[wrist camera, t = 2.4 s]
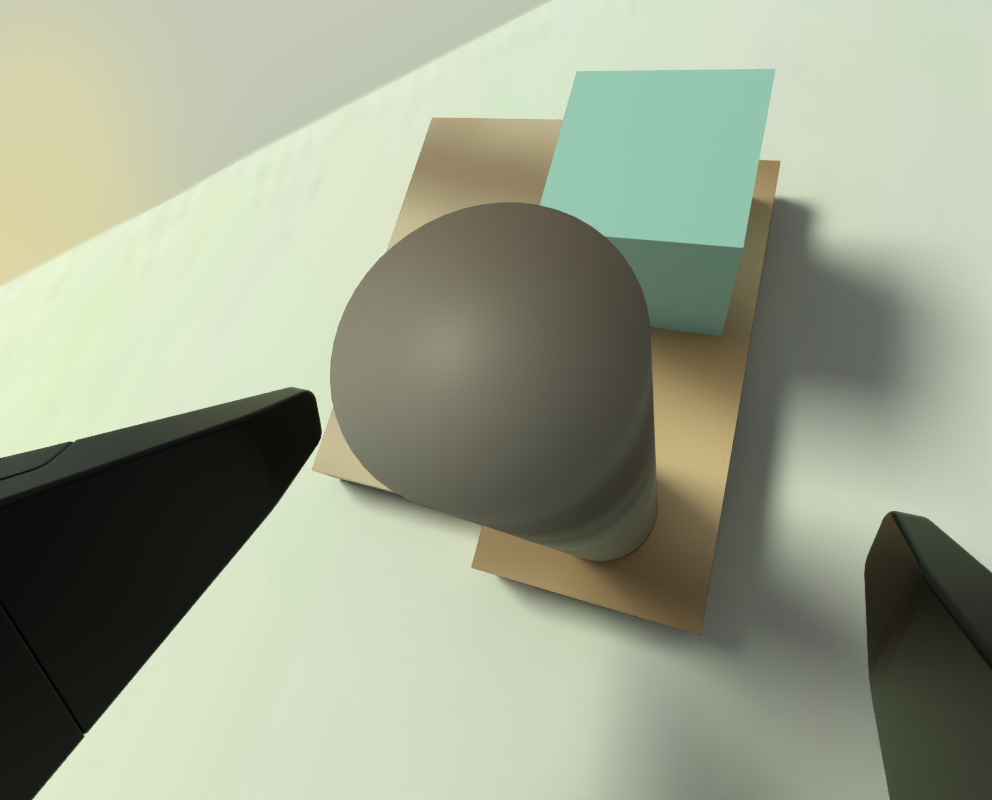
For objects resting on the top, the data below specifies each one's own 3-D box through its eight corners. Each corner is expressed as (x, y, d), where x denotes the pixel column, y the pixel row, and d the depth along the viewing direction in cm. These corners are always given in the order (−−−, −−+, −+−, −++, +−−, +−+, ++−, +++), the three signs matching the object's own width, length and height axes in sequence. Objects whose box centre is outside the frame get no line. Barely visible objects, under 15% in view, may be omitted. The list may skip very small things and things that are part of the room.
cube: (721, 336, 16) (743, 247, 12) (563, 315, 17) (532, 230, 13) (746, 196, 17) (775, 69, 13) (595, 187, 18) (576, 71, 14)
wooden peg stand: (697, 631, 15) (810, 776, 4) (483, 568, 17) (127, 536, 6) (773, 187, 18) (961, -477, 7) (585, 177, 20) (488, -349, 9)
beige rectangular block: (467, 512, 18) (454, 507, 16) (331, 476, 19) (311, 469, 18) (568, 144, 21) (562, 119, 20) (443, 140, 22) (432, 117, 21)
